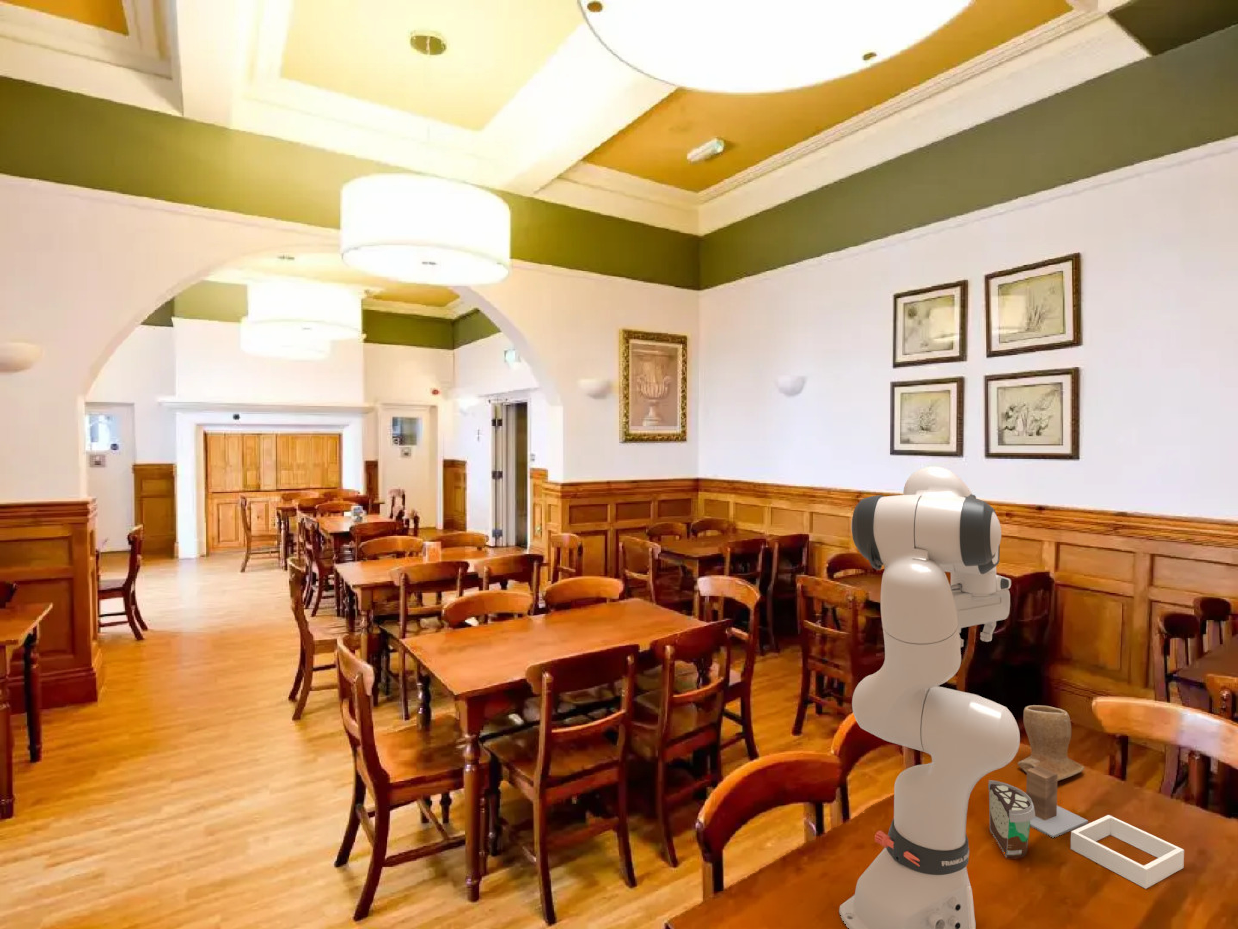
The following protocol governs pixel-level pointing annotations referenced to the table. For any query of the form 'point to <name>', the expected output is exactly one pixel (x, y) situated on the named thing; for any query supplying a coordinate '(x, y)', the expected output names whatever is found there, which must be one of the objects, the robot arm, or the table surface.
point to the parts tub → (1131, 870)
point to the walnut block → (1042, 791)
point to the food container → (1010, 818)
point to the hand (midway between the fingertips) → (972, 643)
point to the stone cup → (1049, 741)
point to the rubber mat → (1058, 823)
